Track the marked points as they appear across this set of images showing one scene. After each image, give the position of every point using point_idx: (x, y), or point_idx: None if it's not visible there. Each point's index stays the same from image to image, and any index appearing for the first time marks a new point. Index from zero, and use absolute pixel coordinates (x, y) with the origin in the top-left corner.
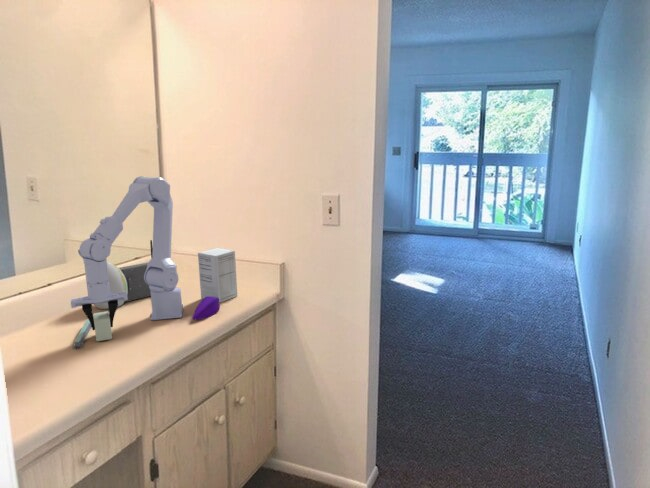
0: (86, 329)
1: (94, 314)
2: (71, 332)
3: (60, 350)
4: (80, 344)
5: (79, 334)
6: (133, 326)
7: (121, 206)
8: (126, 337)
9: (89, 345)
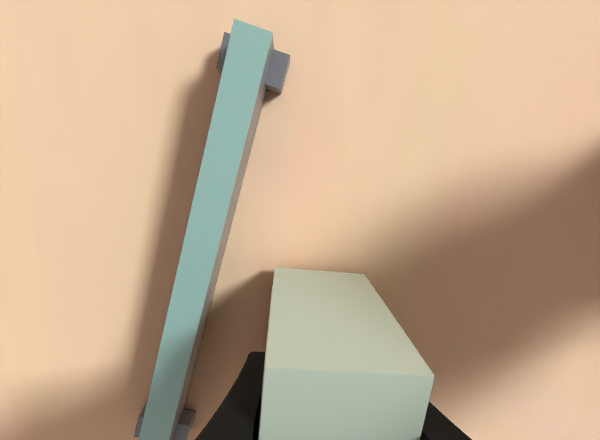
0: (215, 262)
1: (272, 415)
2: (126, 123)
3: (78, 401)
4: (175, 431)
5: (161, 371)
6: (503, 241)
7: None
8: None
9: None
